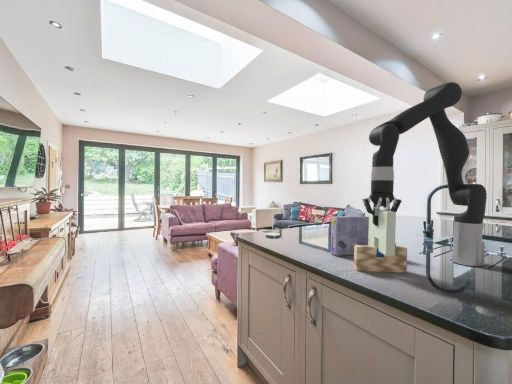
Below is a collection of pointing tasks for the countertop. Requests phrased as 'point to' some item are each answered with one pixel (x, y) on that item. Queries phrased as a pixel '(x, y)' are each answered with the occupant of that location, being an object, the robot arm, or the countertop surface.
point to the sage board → (383, 232)
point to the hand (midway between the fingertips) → (380, 225)
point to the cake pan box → (348, 234)
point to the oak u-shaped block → (379, 259)
